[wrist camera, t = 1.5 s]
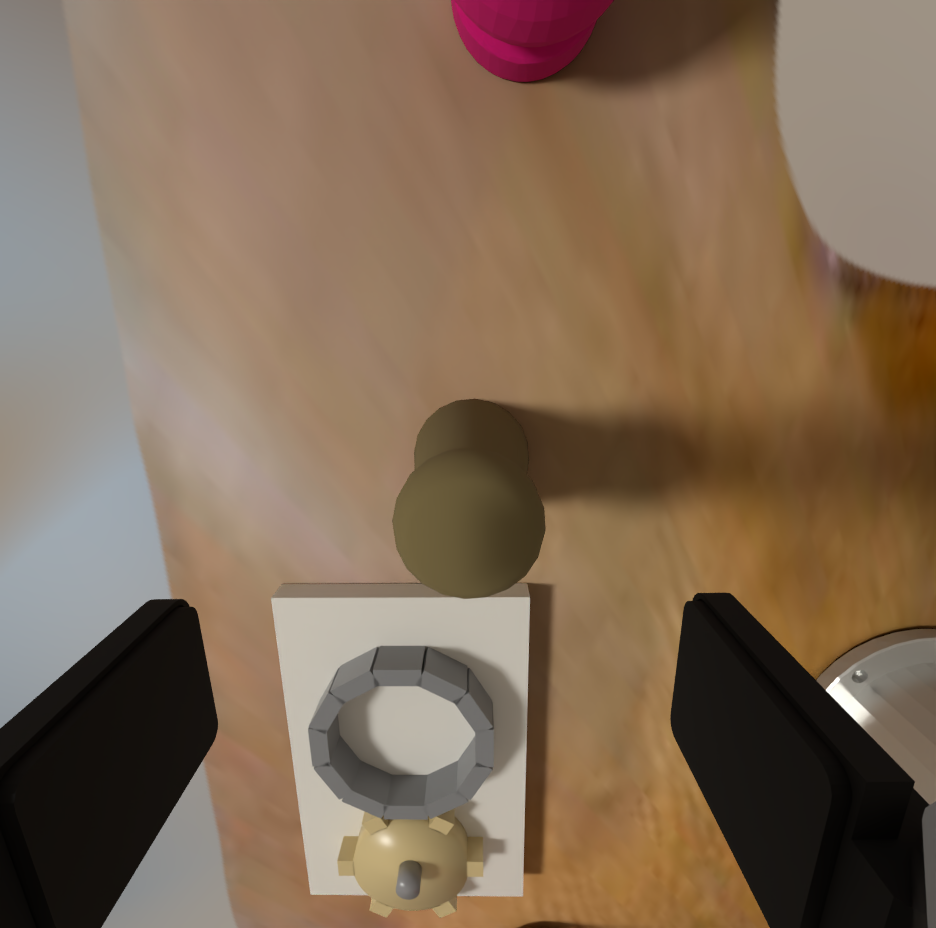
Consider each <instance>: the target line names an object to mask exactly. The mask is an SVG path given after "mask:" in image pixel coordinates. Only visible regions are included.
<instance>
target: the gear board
mask: <svg viewBox="0 0 936 928" xmlns="http://www.w3.org/2000/svg"><path fill="white" fill-rule="evenodd" d="M271 601H272V608H273V616H274V623H275V631H276V638H277V646H278V653H279V661H280V668H281V676H282V683H283V691H284V698H285V706H286V713H287V721H288V728H289V736H290V743H291V751H292V758H293V766H294V773H295V781H296V788H297V796H298V803H299V811H300V818H301V826H302V833H303V841H304V848H305V856H306V863H307V871H308V878H309V886H310V893H311V895H369V896H370V897H371V898H372V899H371V905H370V911H372V912H374V913H377V914H379V915H382V916H384V917H387V916H388V915H389V913H390V912H391V911H392V909H393V908H395V909H400V910H409V911H419V910H427V909H431V908H432V909H433V910H434V911H435V913H436V914H437V915H438V916H439V917H440V918H441V917H444V916H446V915H449V914H451V913H453V912H456V910H457V896H523V868H524V827H525V785H526V743H527V702H528V660H529V619H530V595H529V590H528V585H527V583H515V584H514V585H513V586H511V587H510V588H509V589H507V590H505V591H502V592H499V593H497V594H494V595H491V596H489V597H484V598H472V599H462V598H457V597H452V596H447V595H442V594H440V593H439V592H437V591H435V590H433V589H431V588H429V587H427V586H425V585H423V584H281V586H280V587H279V588H278V590H277V591H276V592H275V594H274V595H273V596H272V597H271Z"/></svg>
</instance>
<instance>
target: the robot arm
mask: <svg viewBox="0 0 936 928" xmlns="http://www.w3.org/2000/svg"><path fill="white" fill-rule="evenodd" d="M671 727H672V731H673V735H674V737H675V740H676V742H677V744H678V746H679V748H680V750H681V752H682V754H683V756H684V758H685V760H686V762H687V763H688V765H689V767H690V769H691V771H692V773H693V775H694V777H695V779H696V781H697V783H698V785H699V787H700V789H701V791H702V793H703V795H704V797H705V799H706V801H707V803H708V805H709V807H710V809H711V811H712V813H713V815H714V817H715V819H716V821H717V823H718V825H719V827H720V829H721V831H722V833H723V835H724V837H725V839H726V841H727V843H728V845H729V847H730V849H731V851H732V853H733V855H734V857H735V859H736V861H737V863H738V865H739V867H740V869H741V871H742V873H743V875H744V877H745V879H746V881H747V883H748V885H749V887H750V889H751V891H752V893H753V895H754V897H755V899H756V901H757V903H758V905H759V907H760V909H761V911H762V913H763V915H764V917H765V919H766V921H767V923H768V925H769V927H770V928H936V629H914V630H907V631H901V632H895V633H892V634H888V635H885V636H882V637H879V638H876V639H873V640H871V641H868V642H866V643H864V644H862V645H860V646H858V647H856V648H854V649H852V650H851V651H849V652H848V653H846V654H845V655H843V656H842V657H840V658H839V659H838V660H836V661H835V662H834V663H833V664H832V665H831V666H829V667H828V668H827V669H826V670H825V671H824V672H823V673H822V674H821V675H820V676H819V678H818V679H817V680H815V679H814V678H813V677H812V676H811V675H810V674H809V673H808V672H807V671H806V670H805V669H804V668H803V667H802V666H801V665H800V664H799V663H798V662H797V661H796V660H795V658H794V657H793V656H792V655H791V654H790V653H789V652H788V651H787V650H786V649H785V648H784V647H783V646H782V645H781V644H780V643H779V642H778V641H777V640H776V639H775V638H774V637H773V636H772V635H771V634H770V633H769V632H768V631H767V630H766V629H765V628H764V627H763V626H762V625H761V624H760V623H759V622H758V621H757V620H756V619H755V618H754V617H753V616H752V615H751V614H750V613H749V612H748V611H747V610H746V609H745V608H744V606H743V605H742V604H741V603H740V602H739V601H738V600H737V599H736V598H735V597H734V596H733V595H731V594H730V593H697V594H696V595H695V596H694V598H693V601H687V602H686V604H685V606H684V611H683V619H682V627H681V635H680V643H679V652H678V660H677V668H676V676H675V684H674V692H673V700H672V708H671ZM217 729H218V719H217V714H216V709H215V703H214V698H213V693H212V687H211V682H210V677H209V671H208V666H207V661H206V655H205V650H204V645H203V639H202V634H201V629H200V623H199V618H198V614H197V611H196V609H195V608H194V607H189V604H188V603H187V602H186V601H185V600H183V599H156V600H150V601H148V602H146V603H145V604H144V605H143V606H141V607H140V608H139V609H138V610H137V611H136V612H135V613H134V614H132V615H131V616H130V617H129V618H128V619H126V620H125V621H124V622H123V623H122V624H121V625H120V626H118V627H117V628H116V629H115V630H114V631H113V632H112V633H110V634H109V635H108V636H107V637H106V638H105V639H103V640H102V641H101V642H100V643H99V644H98V645H97V646H95V647H94V648H93V649H92V650H91V651H90V652H88V653H87V654H86V655H85V656H84V657H83V658H81V659H80V660H79V661H78V662H77V663H76V664H75V665H73V666H72V667H71V668H70V669H69V670H68V671H66V672H65V673H64V674H63V675H62V676H61V677H59V678H58V679H57V680H56V681H55V682H54V683H52V684H51V685H50V686H49V687H48V688H47V689H46V690H45V691H43V692H42V693H41V694H40V695H39V696H37V698H35V699H34V700H33V701H32V702H31V703H29V704H28V705H27V706H26V707H25V708H24V709H22V710H21V711H20V712H19V713H18V714H17V715H16V716H14V717H13V718H12V719H11V720H10V721H9V722H7V723H6V724H5V725H4V726H3V727H2V728H0V928H101V927H102V925H103V923H104V922H105V920H106V919H107V917H108V915H109V914H110V912H111V910H112V909H113V907H114V906H115V904H116V902H117V901H118V899H119V897H120V896H121V894H122V892H123V891H124V889H125V887H126V886H127V884H128V882H129V881H130V879H131V877H132V876H133V874H134V873H135V871H136V869H137V868H138V866H139V864H140V863H141V861H142V859H143V858H144V856H145V854H146V853H147V851H148V850H149V848H150V846H151V844H152V843H153V841H154V840H155V838H156V836H157V835H158V833H159V831H160V830H161V828H162V826H163V825H164V823H165V822H166V820H167V818H168V816H169V815H170V813H171V812H172V810H173V808H174V806H175V805H176V803H177V802H178V800H179V798H180V797H181V795H182V793H183V792H184V790H185V788H186V787H187V785H188V784H189V782H190V780H191V779H192V777H193V775H194V774H195V772H196V770H197V769H198V767H199V765H200V764H201V762H202V761H203V759H204V757H205V756H206V754H207V752H208V751H209V749H210V747H211V746H212V744H213V742H214V740H215V737H216V734H217Z"/></svg>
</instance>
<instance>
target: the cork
mask: <svg viewBox="0 0 936 928" xmlns="http://www.w3.org/2000/svg"><path fill="white" fill-rule="evenodd" d="M414 461H415V471H414V472H412V473H411V474H410V476H409V478H408V479H407V481H406V483H405V485H404V486H403V488H402V490H401V492H400V493H399V495H398V497H397V499H396V504H395V510H394V515H393V520H392V522H393V529H394V535H395V542H396V547H397V550H398V552H399V554H400V556H401V558H402V560H403V562H404V564H405V566H406V568H407V569H408V570H409V571H410V572H411V573H412V574H413V575H414V576H415V577H416V578H417V579H418V580H419V581H420V582H421V583H422V584H423V585H425V586H427V587H429V588H431V589H433V590H435V591H437V592H439V593H440V594H442V595H447V596H452V597H457V598H462V599H472V598H484V597H489V596H491V595H494V594H497V593H499V592H502V591H505V590H507V589H509V588H510V587H511V586H513V585H514V584H515V583H517V582H518V581H519V580H520V579H522V578H523V577H524V576H526V574H527V573H528V571H529V570H530V568H531V567H532V565H533V564H534V562H535V561H536V560H537V558H538V555H539V552H540V548H541V545H542V541H543V537H544V534H545V515H544V506H543V504H542V502H541V499H540V497H539V495H538V492H537V490H536V488H535V485H534V483H533V481H532V480H531V479H530V478H529V477H528V475H527V471H528V461H529V457H528V443H527V440H526V437H525V435H524V433H523V430H522V428H521V426H520V424H519V423H518V422H517V421H516V420H515V419H514V418H513V416H512V415H511V414H510V413H509V412H508V411H506V410H504V409H503V408H501V407H499V406H497V405H496V404H494V403H491V402H487V401H482V400H478V399H469V400H459V401H455V402H452V403H450V404H448V405H446V406H443V407H441V408H439V409H438V410H437V411H436V412H435V413H434V414H433V415H431V416H430V417H429V418H428V419H427V420H426V422H425V423H424V425H423V427H422V429H421V430H420V432H419V434H418V436H417V441H416V446H415V452H414Z"/></svg>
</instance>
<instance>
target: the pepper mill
mask: <svg viewBox="0 0 936 928" xmlns="http://www.w3.org/2000/svg"><path fill="white" fill-rule="evenodd" d="M613 1H614V0H451V4H452V10H453V16H454V20H455V23H456V26H457V29H458V32H459V35H460V37H461V39H462V41H463V43H464V45H465V47H466V48H467V50H468V51H469V52H470V54H471V55H472V56H473V57H474V59H475V60H476V61H477V62H478V63H479V64H480V65H481V66H483V67H484V68H485V69H486V70H488V71H489V72H491V73H492V74H494V75H496V76H498V77H500V78H503V79H508V80H512V81H516V82H530V81H535V80H540V79H543V78H546V77H548V76H550V75H553V74H555V73H556V72H558V71H559V70H561V69H562V68H564V67H565V66H567V65H568V64H569V63H570V62H571V61H572V60H573V59H574V58H575V57H576V56H577V55H578V54H579V53H580V51H581V50H582V48H583V47H584V45H585V44H586V42H587V41H588V39H589V37H590V35H591V33H592V31H593V29H594V26H595V24H596V21H597V19H598V18H599V17H600V16H601V15H602V14H603V13H604V12H605V11H606V9H607V8H608V7H609V6H610V4H611V3H612V2H613Z"/></svg>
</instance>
